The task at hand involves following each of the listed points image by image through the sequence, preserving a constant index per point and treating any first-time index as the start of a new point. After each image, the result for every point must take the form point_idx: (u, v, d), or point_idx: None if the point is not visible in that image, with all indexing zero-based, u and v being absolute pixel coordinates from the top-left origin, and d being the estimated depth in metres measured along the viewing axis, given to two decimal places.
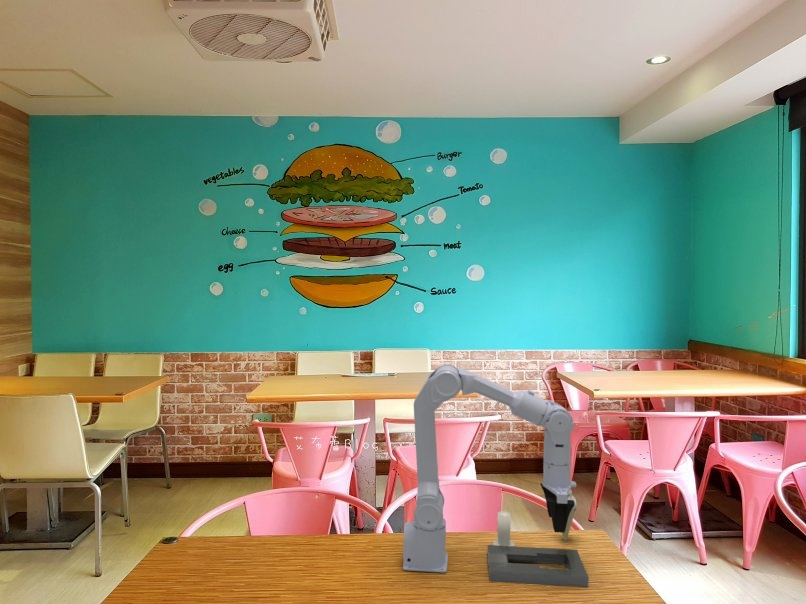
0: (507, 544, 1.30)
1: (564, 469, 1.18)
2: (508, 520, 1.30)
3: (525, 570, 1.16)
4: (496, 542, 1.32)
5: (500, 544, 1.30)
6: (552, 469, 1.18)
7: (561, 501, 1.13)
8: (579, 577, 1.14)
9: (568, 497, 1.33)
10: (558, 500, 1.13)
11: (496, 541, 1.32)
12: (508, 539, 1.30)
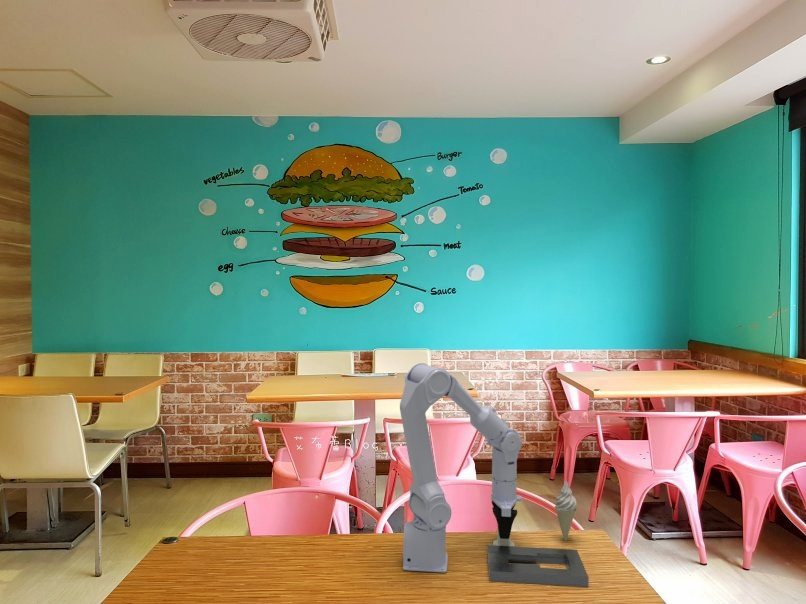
0: (507, 544, 1.30)
1: (510, 485, 1.28)
2: None
3: (525, 570, 1.16)
4: (496, 542, 1.32)
5: (500, 544, 1.30)
6: (499, 485, 1.29)
7: (505, 514, 1.24)
8: (579, 577, 1.14)
9: (568, 497, 1.33)
10: (502, 513, 1.24)
11: (496, 541, 1.32)
12: (508, 539, 1.30)
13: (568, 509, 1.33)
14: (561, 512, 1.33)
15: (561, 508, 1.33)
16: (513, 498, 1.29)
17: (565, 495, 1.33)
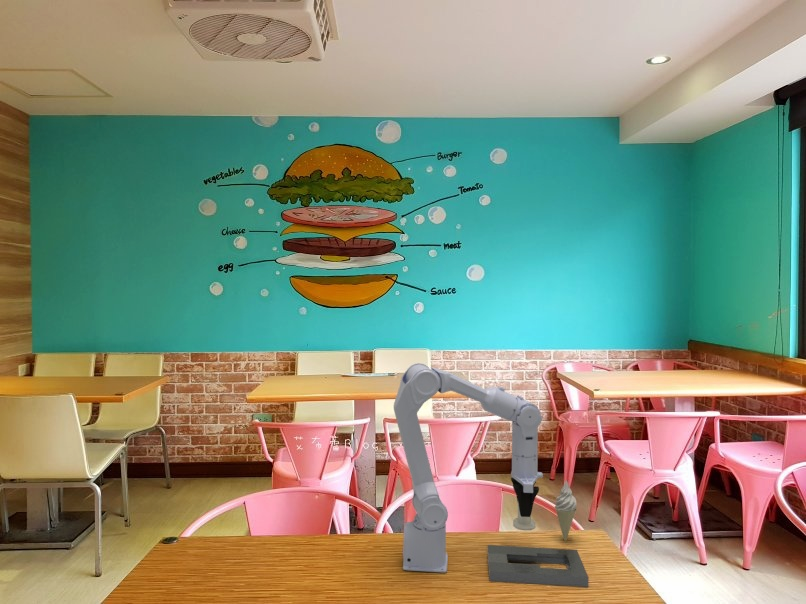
0: (528, 522, 1.25)
1: (531, 460, 1.24)
2: None
3: (525, 570, 1.16)
4: (516, 520, 1.27)
5: (520, 522, 1.26)
6: (519, 460, 1.24)
7: (527, 490, 1.19)
8: (579, 577, 1.14)
9: (568, 497, 1.33)
10: (524, 490, 1.19)
11: (516, 520, 1.28)
12: (529, 517, 1.26)
13: (568, 509, 1.33)
14: (561, 512, 1.33)
15: (561, 508, 1.33)
16: (534, 474, 1.24)
17: (565, 495, 1.33)
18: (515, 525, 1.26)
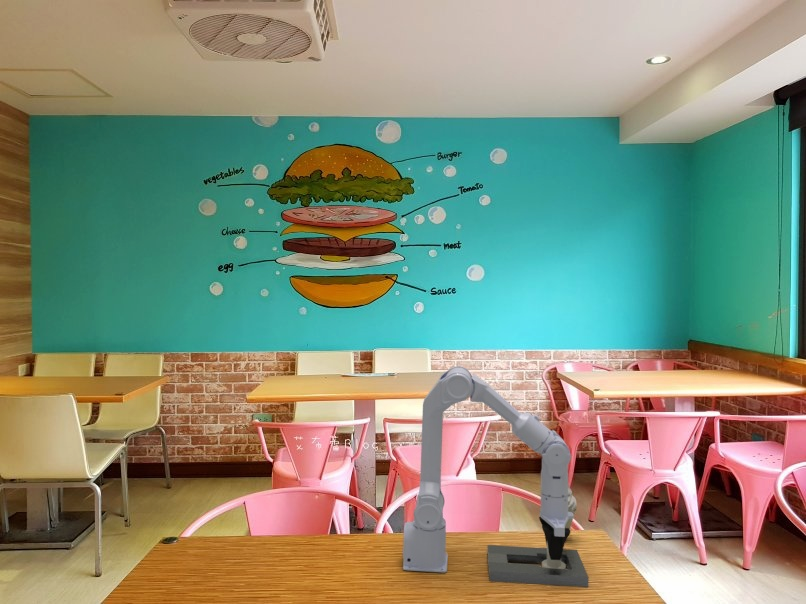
0: (558, 565, 1.19)
1: (561, 501, 1.17)
2: None
3: (525, 570, 1.16)
4: (545, 563, 1.21)
5: (550, 565, 1.19)
6: (549, 501, 1.18)
7: (558, 534, 1.13)
8: (579, 577, 1.14)
9: (568, 497, 1.33)
10: (555, 533, 1.13)
11: (545, 562, 1.21)
12: (559, 560, 1.19)
13: (568, 509, 1.33)
14: None
15: None
16: (565, 515, 1.18)
17: None
18: None
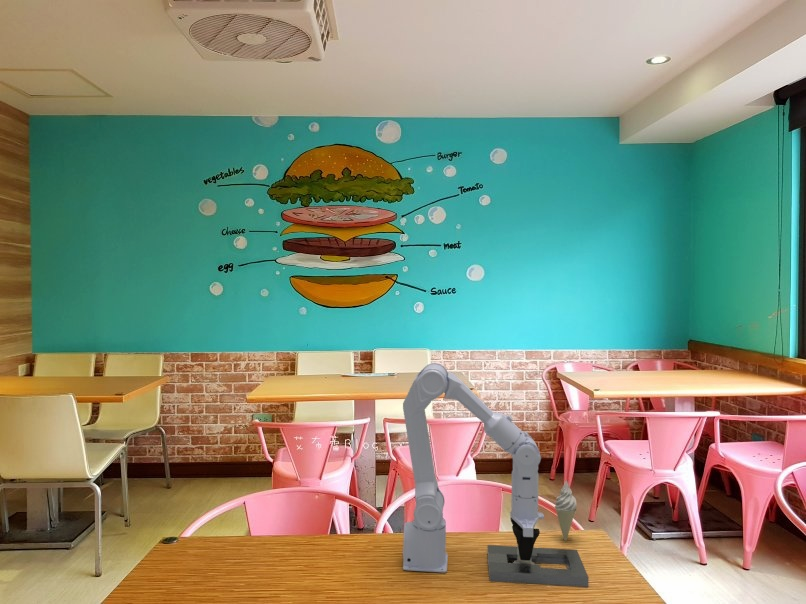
0: None
1: (531, 501, 1.18)
2: None
3: (525, 570, 1.16)
4: None
5: None
6: (519, 501, 1.19)
7: (527, 535, 1.14)
8: (579, 577, 1.14)
9: (568, 497, 1.33)
10: (524, 534, 1.14)
11: (516, 562, 1.22)
12: None
13: (568, 509, 1.33)
14: (561, 512, 1.33)
15: (561, 508, 1.33)
16: (535, 516, 1.19)
17: (565, 495, 1.33)
18: None
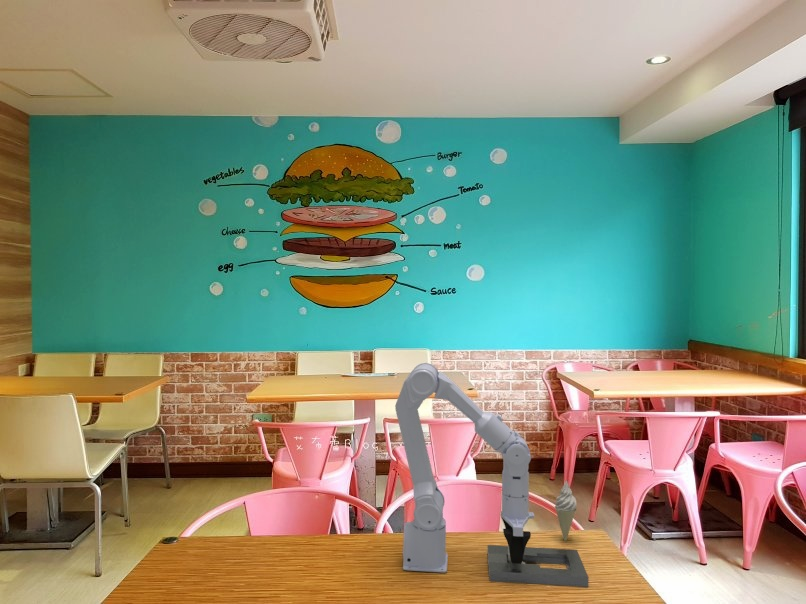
0: None
1: (521, 501, 1.18)
2: None
3: (525, 570, 1.16)
4: None
5: None
6: (510, 501, 1.19)
7: (517, 534, 1.14)
8: (579, 577, 1.14)
9: (568, 497, 1.33)
10: (514, 533, 1.14)
11: None
12: None
13: (568, 509, 1.33)
14: (561, 512, 1.33)
15: (561, 508, 1.33)
16: (525, 515, 1.19)
17: (565, 495, 1.33)
18: None
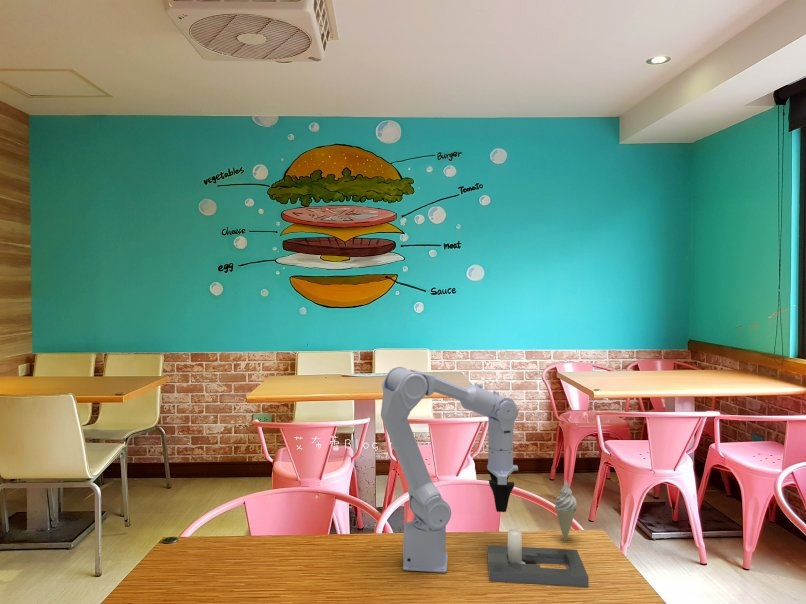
0: None
1: (506, 454, 1.27)
2: (519, 539, 1.20)
3: (525, 570, 1.16)
4: None
5: None
6: (495, 454, 1.28)
7: (501, 482, 1.23)
8: (579, 577, 1.14)
9: (568, 497, 1.33)
10: (498, 482, 1.23)
11: None
12: (519, 560, 1.20)
13: (568, 509, 1.33)
14: (561, 512, 1.33)
15: (561, 508, 1.33)
16: (509, 467, 1.28)
17: (565, 495, 1.33)
18: None
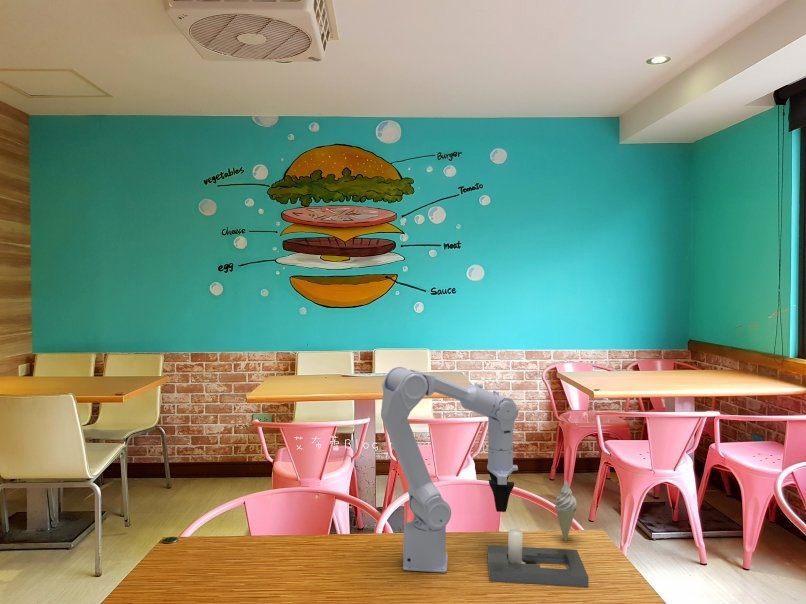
0: None
1: (506, 453, 1.27)
2: (520, 540, 1.20)
3: (525, 570, 1.16)
4: None
5: None
6: (495, 454, 1.28)
7: (501, 482, 1.23)
8: (579, 577, 1.14)
9: (568, 497, 1.33)
10: (498, 481, 1.23)
11: None
12: (519, 560, 1.20)
13: (568, 509, 1.33)
14: (561, 512, 1.33)
15: (561, 508, 1.33)
16: (509, 467, 1.28)
17: (565, 495, 1.33)
18: None
